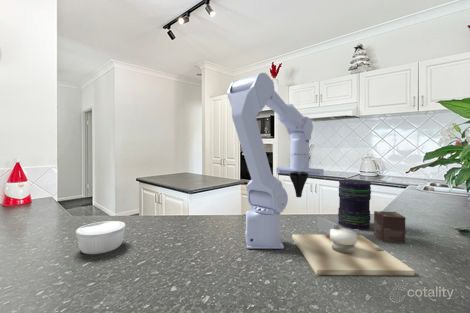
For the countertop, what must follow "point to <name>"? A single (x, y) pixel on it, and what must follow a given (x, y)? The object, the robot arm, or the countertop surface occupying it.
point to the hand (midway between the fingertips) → (298, 196)
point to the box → (389, 226)
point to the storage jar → (354, 204)
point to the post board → (348, 257)
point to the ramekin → (100, 237)
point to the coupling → (337, 232)
